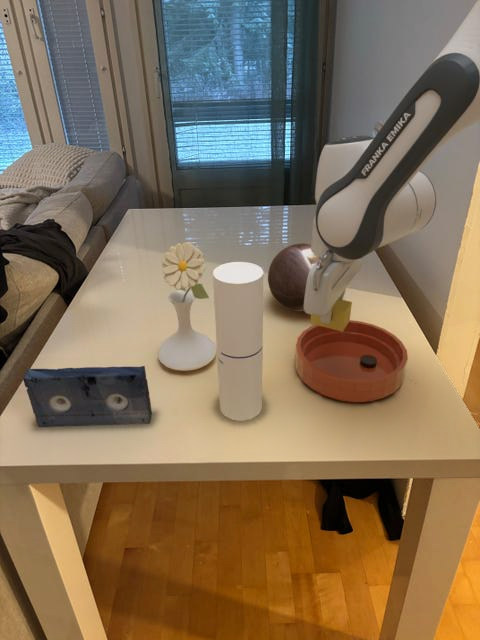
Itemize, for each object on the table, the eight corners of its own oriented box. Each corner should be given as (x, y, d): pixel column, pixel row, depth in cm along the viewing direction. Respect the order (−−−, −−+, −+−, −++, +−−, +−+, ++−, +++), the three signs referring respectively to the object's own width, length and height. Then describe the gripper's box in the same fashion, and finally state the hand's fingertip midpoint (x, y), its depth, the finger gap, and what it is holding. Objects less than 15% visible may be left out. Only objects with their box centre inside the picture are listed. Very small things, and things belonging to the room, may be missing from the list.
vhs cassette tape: (153, 413, 78) (145, 365, 73) (150, 425, 75) (142, 376, 70) (43, 414, 78) (28, 366, 73) (37, 427, 75) (21, 378, 70)
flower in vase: (147, 357, 91) (129, 237, 78) (193, 335, 98) (184, 221, 85) (186, 389, 83) (173, 260, 70) (234, 363, 89) (230, 240, 76)
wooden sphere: (302, 331, 98) (306, 266, 91) (254, 306, 108) (254, 245, 100) (346, 307, 107) (353, 246, 99) (298, 286, 116) (301, 228, 109)
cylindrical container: (245, 427, 75) (243, 288, 62) (211, 409, 78) (202, 274, 65) (270, 402, 79) (273, 269, 66) (237, 387, 83) (233, 257, 70)
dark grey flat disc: (378, 361, 88) (378, 357, 87) (374, 370, 85) (374, 365, 85) (362, 357, 89) (363, 353, 88) (357, 365, 87) (358, 361, 86)
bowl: (412, 356, 90) (417, 334, 88) (388, 419, 76) (393, 395, 73) (317, 331, 98) (318, 311, 96) (278, 384, 84) (279, 361, 81)
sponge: (349, 321, 84) (352, 301, 82) (342, 331, 81) (345, 312, 79) (318, 313, 87) (319, 294, 84) (310, 323, 84) (311, 304, 81)
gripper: (337, 269, 67) (328, 348, 74) (374, 224, 82) (364, 294, 89) (296, 261, 69) (291, 338, 76) (339, 219, 85) (332, 287, 92)
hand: (331, 314), depth 83 cm, fingers closed on sponge, 4 cm apart
